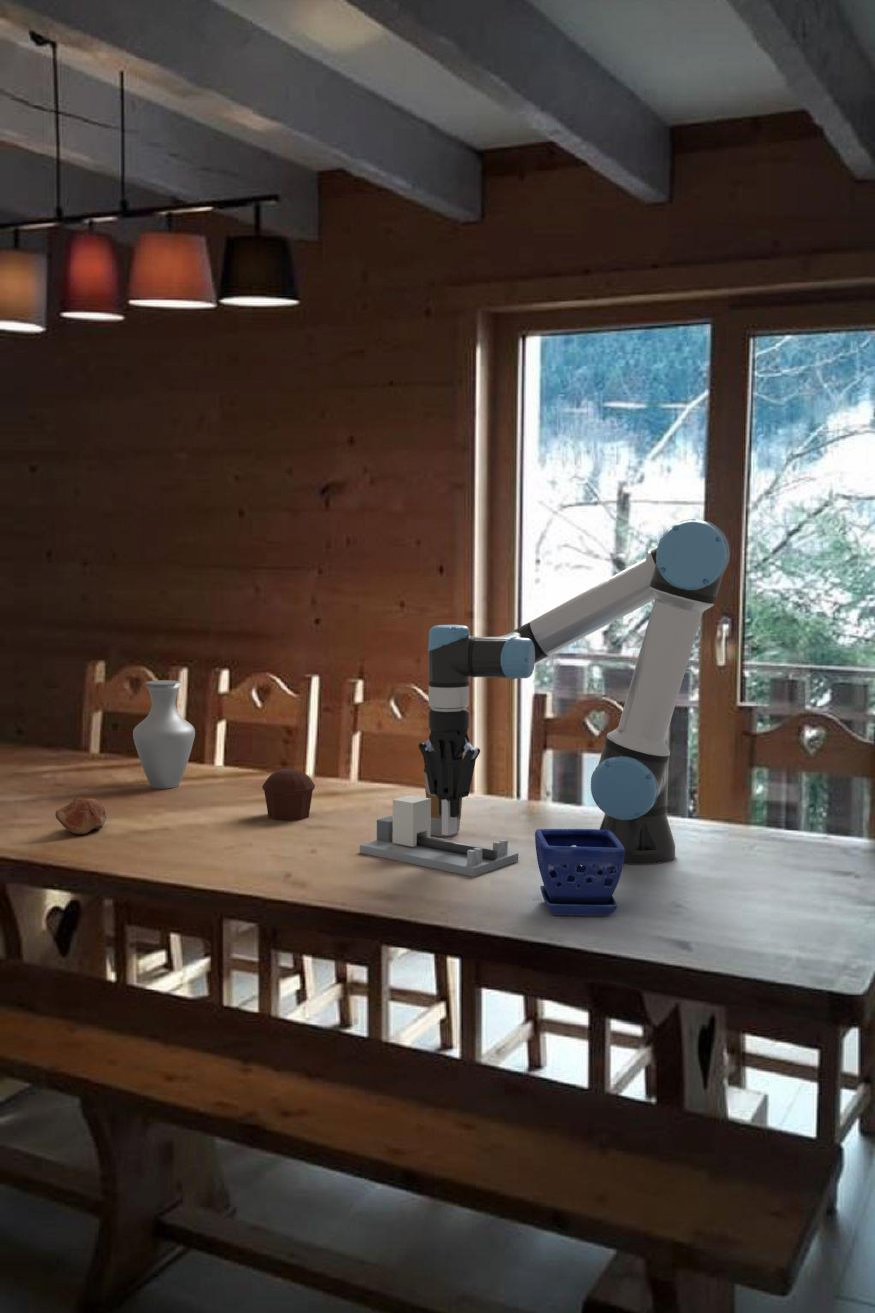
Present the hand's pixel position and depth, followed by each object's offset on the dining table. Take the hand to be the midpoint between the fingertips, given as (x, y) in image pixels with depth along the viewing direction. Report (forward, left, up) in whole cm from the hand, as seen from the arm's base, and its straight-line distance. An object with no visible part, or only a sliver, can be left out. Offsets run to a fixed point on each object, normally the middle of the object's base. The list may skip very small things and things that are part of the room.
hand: (449, 833), depth 244 cm
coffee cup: (+13, -16, -5) cm, 21 cm away
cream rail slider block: (+9, 0, -3) cm, 9 cm away
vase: (+93, -11, -5) cm, 94 cm away
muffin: (+48, -7, -5) cm, 49 cm away
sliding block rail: (+2, 0, -5) cm, 5 cm away
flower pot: (-36, +12, -5) cm, 38 cm away
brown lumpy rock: (+70, +30, -5) cm, 77 cm away
